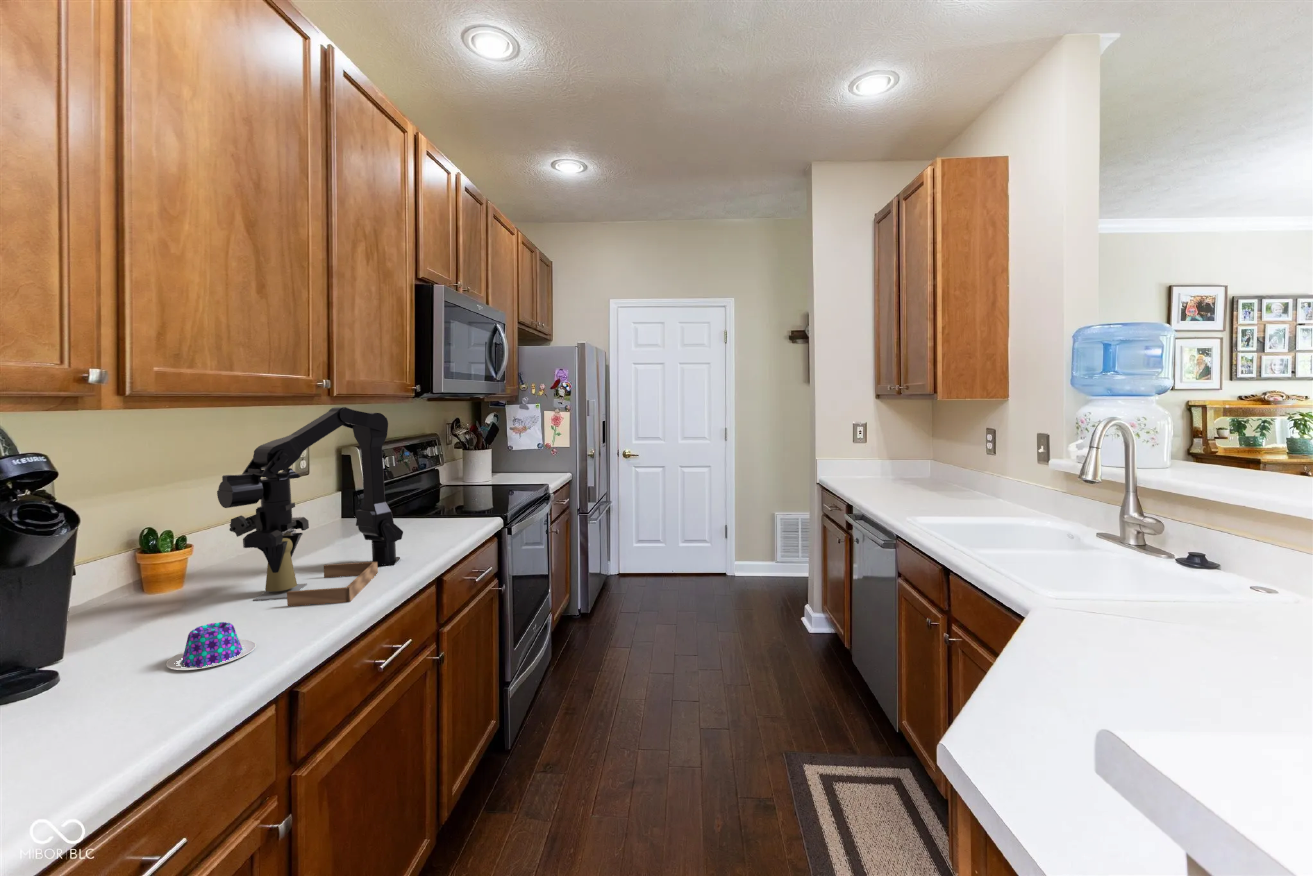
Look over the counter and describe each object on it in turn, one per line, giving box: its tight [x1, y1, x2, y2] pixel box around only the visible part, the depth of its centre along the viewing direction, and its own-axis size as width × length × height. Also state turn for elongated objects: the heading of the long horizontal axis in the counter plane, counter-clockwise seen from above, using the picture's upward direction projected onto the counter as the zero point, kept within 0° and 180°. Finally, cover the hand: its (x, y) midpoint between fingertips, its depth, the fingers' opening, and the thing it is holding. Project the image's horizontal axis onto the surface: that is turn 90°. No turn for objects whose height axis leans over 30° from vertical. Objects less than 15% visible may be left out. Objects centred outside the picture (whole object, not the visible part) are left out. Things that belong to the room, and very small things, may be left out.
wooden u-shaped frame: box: [286, 561, 379, 607], centre depth 134 cm, size 22×12×3 cm, turn 11°
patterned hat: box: [165, 621, 257, 671], centre depth 98 cm, size 12×12×5 cm
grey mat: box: [252, 583, 308, 602], centre depth 132 cm, size 10×7×1 cm
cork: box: [264, 538, 298, 592], centre depth 132 cm, size 6×6×11 cm
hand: (280, 569), depth 132 cm, fingers closed on cork, 4 cm apart
